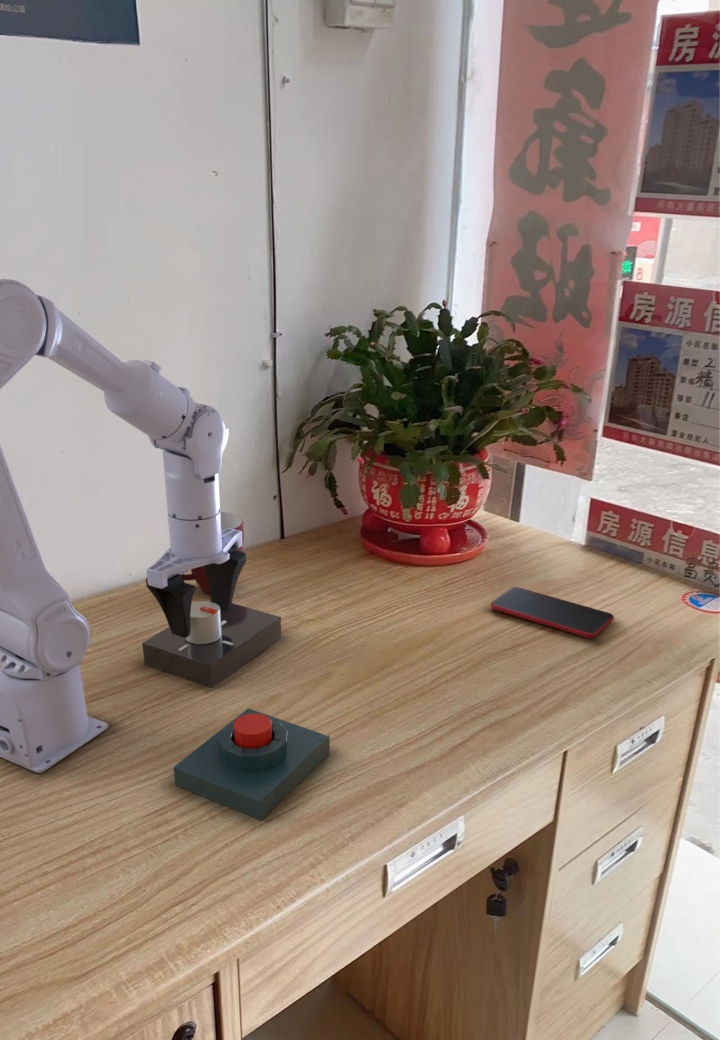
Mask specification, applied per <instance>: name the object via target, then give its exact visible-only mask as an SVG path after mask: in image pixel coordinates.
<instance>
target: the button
mask: <svg viewBox="0 0 720 1040" xmlns="http://www.w3.org/2000/svg"><path fill="white" fill-rule="evenodd" d="M236 718H237V717H236ZM271 740H272V723H271V720H270V719H269V718H268V717H267V716H264V715H261V714H246V715H243V716H241V717H239V718H237V719H236V720H235V722H234V741H235V743H236V744H237V745H238V746H240V747H243V748H260V747H263V746H266V745H268V744H269V743H270V742H271Z"/></svg>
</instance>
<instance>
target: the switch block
mask: <svg viewBox="0 0 720 1040" xmlns="http://www.w3.org/2000/svg"><path fill="white" fill-rule="evenodd" d="M246 714H261V715H264V716H267V717H268V718H269V719H270V720H271V723H272V740H271V742H270V743H269V744H268V745H266V746H263V747H260V748H243V747H240V746H238V745H237V744H236V743H235V741H234V722H235V720H236V719H237V718H239V717H241V716H243V715H246ZM330 738H331V737H330V736H329V735H327V734H324V733H321V732H318V731H315V730H313V729H310V728H308V727H304V726H300V725H298V724H295V723H292V722H289V721H286V720H283V719H281V718H278V717H275V716H272V715H270V714H266V713H263V712H260V711H257V710H255V709H251V708H247V709H245V710H244V711H243V712H241V713H240V714H239V715H238V716H236V717H235V718H233V720H231V721H230V722H229V723H227V725H225V726H224V727H223V728H222V729H220V730H219V731H217V732H216V733H215V734H214V735H212V736H211V737H210V738H208V739H207V740H206V741H205V742H203V743H202V744H201V745H200V746H198V747H197V748H196V749H194V750H193V751H192V752H191V753H190V754H188V755H187V756H186V757H184V758H183V759H181V760H180V761H179V762H177V764H176V765H174V766H173V776H174V785H175V787H178V788H180V789H183V790H184V791H185V790H186V791H188V792H191V793H193V794H196V795H198V796H201V797H203V798H205V799H207V800H210V801H212V802H215V803H218V804H220V805H222V806H225V807H227V808H229V809H232V810H234V811H237V812H239V813H242V814H244V815H246V816H249V817H252V818H254V819H256V820H260V821H262V820H263V819H264V818H265V817H266V816H267V815H268V814H269V813H270V812H271V811H272V810H274V809H275V808H276V807H277V806H278V805H279V804H280V803H281V802H282V801H283V800H284V799H285V798H286V797H287V796H288V795H289V794H290V793H291V792H292V791H293V790H294V789H295V788H296V787H297V786H298V785H299V784H300V783H301V782H302V781H304V779H305V778H307V776H309V775H310V774H311V772H312V771H314V770H315V769H316V768H317V767H318V766H319V765H320V764H321V763H322V762H323V761H324V760H325V759H326V758H327V757H328V756H330V749H331V748H330V744H331V743H330V741H331V739H330Z"/></svg>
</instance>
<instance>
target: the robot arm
mask: <svg viewBox="0 0 720 1040" xmlns="http://www.w3.org/2000/svg"><path fill="white" fill-rule="evenodd" d="M36 356H37V357H42V358H47V359H49V360H50V361H52V362H53V363H56V364H57V365H59V366H60V367H62V368H64V369H66V370H67V371H69V372H71V373H72V374H73V375H75V376H77V377H79V378H80V379H82V380H84V381H85V382H87V383H89V384H91V385H92V386H93V387H96V389H99V390H100V391H102V392H103V399H104V403H105V406H106V408H107V409H108V410H109V411H110V412H111V413H113V414H114V415H115V416H117V417H118V418H120V419H122V420H123V421H125V422H126V423H127V424H129V425H131V426H132V427H134V428H135V429H137V430H138V431H140V432H141V433H143V434H144V435H146V436H148V440H149V441H150V443H151V445H152V446H153V448H155V449H159V450H162V460H163V461H162V462H163V474H164V485H165V497H166V509H167V522H168V523H167V524H168V534H169V548H168V549H167V550H166V552H164V553H163V554H162V555H161V556H160V558H159V559H158V560H156V562H155V563H154V564H152V565H151V566H148V567H147V568H146V569H145V570H146V577H145V587H146V588H147V589H148V590H149V591H150V593H151V594H152V595H153V597H154V598H155V599H156V601H157V602H158V604H159V606H160V608H161V610H162V612H163V614H164V616H165V619H166V622H167V623H168V627H170V629H171V632H172V634H174V635H177V636H180V637H183V638H186V637H188V636H189V634H190V628H191V619H190V612H191V603H193V599H194V594H195V592H196V589H197V586H196V585H194V584H190V583H187V582H185V580H184V579H181V575H182V574H185V573H186V574H187V573H188V572H190V571H191V569H194V568H197V567H201V566H204V567H205V570H206V573H207V577H208V581H209V589H210V595H209V596H210V602H213V603H216V604H217V605H219V607H220V611H223V612H226V613H227V612H228V611H230V608H231V603H233V599H234V593H235V589H236V585H237V583H238V580H239V576H240V575H241V572H242V571H243V568H244V567H245V565H246V563H247V561H248V558H247V553H246V552H244V551H242V552H241V551H237V550H236V548H240V547H241V546H243V547H244V544H243V545H242V531H239V530H235V529H231V528H228V529H225V530H223V531H221V516H220V512H221V501H220V499H221V498H220V480H219V474H220V472H221V468H223V461H222V458H223V453H224V451H225V449H226V447H227V443H228V440H229V433H230V431H229V427H226V425H225V421H224V420H223V417H222V416H221V413H220V412H219V411H218V410H217V409H216V408H215V407H213V406H211V405H208V404H204V403H198V402H196V401H195V400H194V399H193V398H192V397H191V395H192V392H191V391H190V390H189V389H188V388H186V387H183V386H177V385H176V384H174V383H173V382H171V381H170V380H168V379H167V378H166V377H164V376H163V375H161V371H162V367H161V365H159V364H158V363H156V362H155V361H151V360H146V359H144V360H140V359H131V360H127V361H124V362H123V361H122V360H121V359H120V358H119V357H117V356H116V355H115V354H114V353H112V352H111V351H110V350H109V349H107V348H106V346H104V345H103V344H101V343H100V342H99V341H97V339H95V338H94V337H93V336H91V335H90V334H89V333H88V332H87V331H86V330H84V329H83V328H82V327H80V325H78V324H76V322H74V321H73V319H71V318H69V317H68V316H67V315H66V314H64V312H62V311H61V310H60V309H59V308H58V307H57V305H56V304H55V303H54V302H53V301H51V300H50V299H48V298H46V297H45V296H42V295H40V294H36V293H35V292H34V291H33V290H32V289H31V288H30V287H29V286H27V285H26V284H24V283H22V282H21V281H18V280H14V279H9V278H0V390H2V389H3V388H4V387H5V386H6V385H7V384H8V383H9V382H10V381H11V380H12V379H13V378H14V377H15V376H16V375H17V374H18V373H19V372H20V371H21V370H22V369H23V368H24V367H25V366H26V365H27V364H28V363H29V362H30V361H31V360H32V359H33V358H34V357H36ZM90 642H91V627H90V624H89V622H88V620H87V619H86V618H85V616H84V615H83V614H81V613H80V612H79V611H77V609H76V608H75V607H74V606H73V603H72V601H71V598H70V595H69V594H68V593H67V591H66V590H65V589H64V588H63V587H62V585H60V583H59V582H58V581H57V580H56V579H55V578H54V577H53V576H52V575H51V574H50V572H48V570H47V568H46V566H45V563H44V561H43V558H42V555H41V552H40V550H39V547H38V544H37V542H36V539H35V537H34V533H33V531H32V528H31V524H30V523H29V520H28V516H27V514H26V512H25V508H24V505H23V503H22V501H21V498H20V495H19V491H18V490H17V487H16V484H15V481H14V479H13V476H12V473H11V470H10V468H9V464H8V462H7V459H6V456H5V454H4V451H3V448H2V446H1V445H0V758H2V759H4V760H7V761H9V762H11V763H14V764H15V765H18V766H20V767H22V768H25V769H27V770H29V771H32V772H34V773H37V774H41V773H44V772H46V771H47V770H48V769H50V768H51V767H53V766H54V765H56V764H57V763H59V762H60V761H62V760H63V759H65V758H66V757H68V756H70V754H72V753H74V752H75V751H76V750H78V749H80V748H81V747H82V746H84V745H85V744H87V743H88V742H90V741H91V740H93V739H94V738H96V737H97V736H99V735H100V734H102V733H103V732H105V731H106V730H107V729H108V728H109V724H108V723H107V722H106V721H102V720H99V719H97V718H95V717H93V716H89V715H88V710H87V709H88V708H87V702H86V697H85V689H84V682H83V677H82V671H81V664H82V663H83V658H84V657H85V655H86V654H87V652H88V649H89V646H90V644H91V643H90Z"/></svg>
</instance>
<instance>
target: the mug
mask: <svg viewBox="0 0 720 1040" xmlns="http://www.w3.org/2000/svg"><path fill="white" fill-rule="evenodd" d="M220 516H221V531H223V530H225V529H228V528H231V529H235V530H239V531H242V545H243V546H241V547H240V548H236V550H237V551H241V552H244V543H245V542H244V541H245V533H244V532H245V529H244V520H243V518H241V516H239V515H237V514H234V513H232V512H226V511H225V512H224V511H220ZM190 571H191V573H188V574H187V573H186V574H185V573H184V574H182V575H181V579H184V581H195V582H196V584H197V585H198V586H199V588H200V590H202V592H203V593H204V594H206V595H209V596H210V589H209V581H208V577H207V573H206V570H205V567H204V566H201V567H197V568H194V569H191V570H190Z"/></svg>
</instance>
